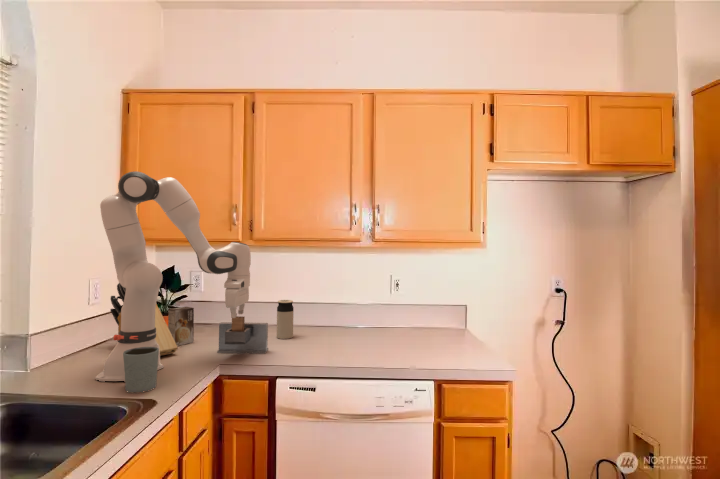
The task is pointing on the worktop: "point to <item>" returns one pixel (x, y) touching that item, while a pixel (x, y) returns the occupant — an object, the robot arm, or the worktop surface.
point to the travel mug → (285, 319)
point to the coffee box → (181, 324)
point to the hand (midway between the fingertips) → (237, 315)
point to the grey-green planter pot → (140, 368)
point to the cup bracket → (243, 338)
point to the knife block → (163, 332)
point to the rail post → (238, 323)
